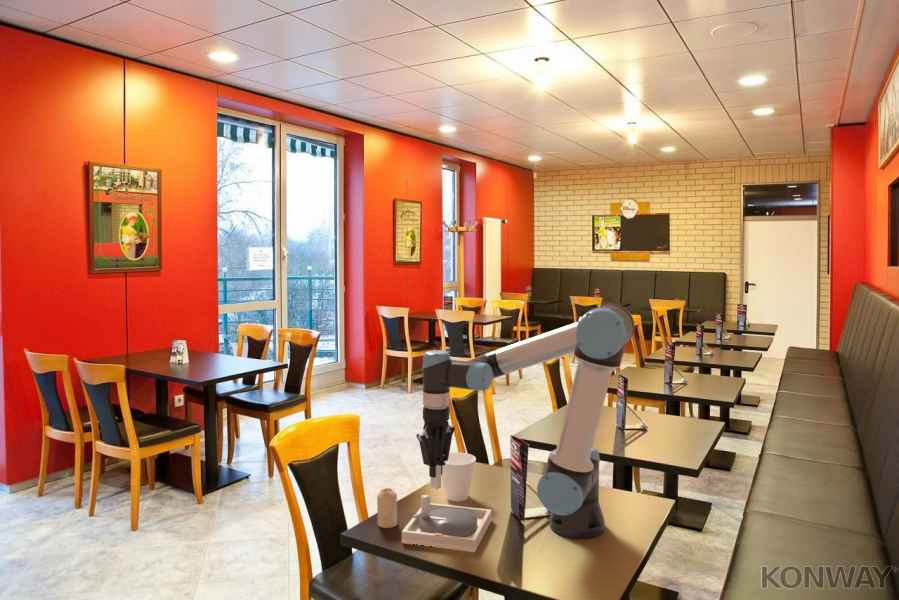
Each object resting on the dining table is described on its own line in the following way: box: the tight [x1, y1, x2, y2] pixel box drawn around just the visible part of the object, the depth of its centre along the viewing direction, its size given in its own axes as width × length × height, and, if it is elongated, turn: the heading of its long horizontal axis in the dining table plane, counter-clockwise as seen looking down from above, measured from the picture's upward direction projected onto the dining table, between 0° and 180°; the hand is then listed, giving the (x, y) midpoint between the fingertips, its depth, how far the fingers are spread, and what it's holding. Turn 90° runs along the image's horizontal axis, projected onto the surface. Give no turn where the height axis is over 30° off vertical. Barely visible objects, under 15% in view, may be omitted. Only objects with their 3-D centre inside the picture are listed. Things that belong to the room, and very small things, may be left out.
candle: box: [376, 487, 398, 529], centre depth 189 cm, size 6×6×10 cm
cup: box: [441, 452, 477, 502], centre depth 208 cm, size 12×12×12 cm
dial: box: [419, 494, 477, 537], centre depth 184 cm, size 16×16×8 cm
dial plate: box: [401, 502, 492, 553], centre depth 184 cm, size 20×20×4 cm
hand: (435, 487), depth 189 cm, fingers closed
